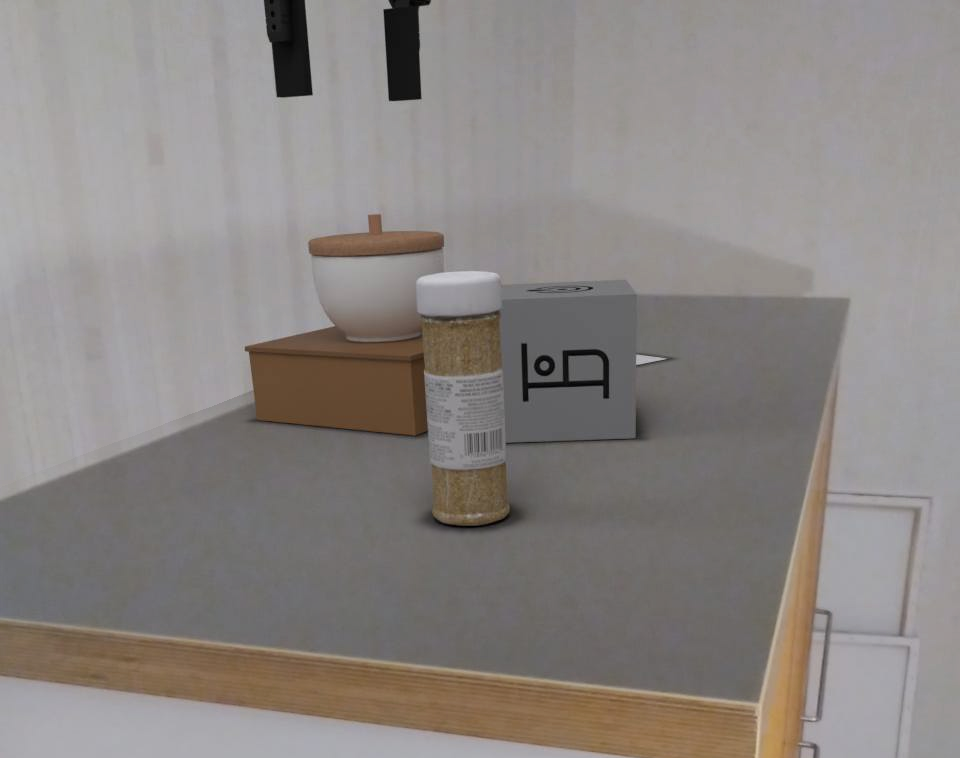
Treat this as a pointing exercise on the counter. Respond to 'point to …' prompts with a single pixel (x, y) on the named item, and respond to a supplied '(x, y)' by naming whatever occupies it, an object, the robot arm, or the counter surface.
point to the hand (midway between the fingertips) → (353, 99)
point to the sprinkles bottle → (464, 395)
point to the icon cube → (569, 360)
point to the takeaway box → (341, 382)
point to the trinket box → (374, 280)
